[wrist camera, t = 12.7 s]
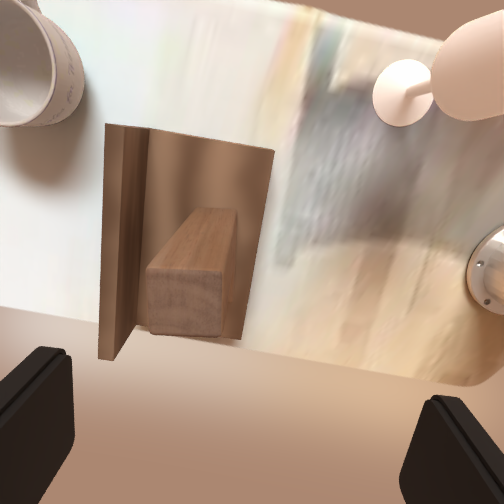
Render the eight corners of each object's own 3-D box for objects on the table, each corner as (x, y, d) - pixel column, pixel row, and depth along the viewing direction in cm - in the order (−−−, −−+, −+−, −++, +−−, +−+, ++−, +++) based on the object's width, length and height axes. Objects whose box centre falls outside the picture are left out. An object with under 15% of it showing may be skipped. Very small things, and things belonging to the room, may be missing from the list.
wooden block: (235, 286, 39) (221, 402, 22) (195, 285, 39) (150, 399, 22) (237, 208, 36) (224, 270, 19) (194, 206, 36) (142, 266, 19)
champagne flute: (447, 76, 37) (764, -28, 14) (413, 136, 39) (644, 133, 16) (392, 47, 36) (635, -111, 13) (361, 111, 38) (525, 69, 15)
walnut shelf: (272, 149, 39) (280, 153, 28) (242, 319, 46) (238, 378, 34) (148, 128, 38) (105, 123, 27) (136, 303, 45) (97, 359, 34)
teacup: (82, 144, 39) (40, 146, 31) (-15, 104, 38) (-83, 95, 30) (116, 13, 35) (78, -22, 27) (9, -38, 34) (-62, -89, 26)
